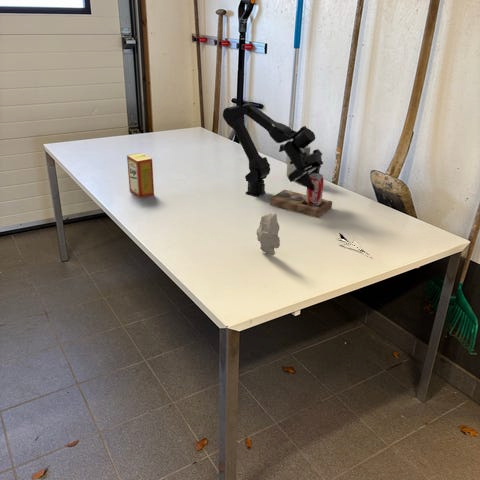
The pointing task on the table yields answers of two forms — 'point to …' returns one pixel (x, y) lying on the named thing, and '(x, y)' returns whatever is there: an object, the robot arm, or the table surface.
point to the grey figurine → (268, 233)
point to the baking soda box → (140, 175)
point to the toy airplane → (350, 243)
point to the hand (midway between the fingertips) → (317, 188)
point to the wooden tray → (299, 203)
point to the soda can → (315, 196)
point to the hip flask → (291, 167)
